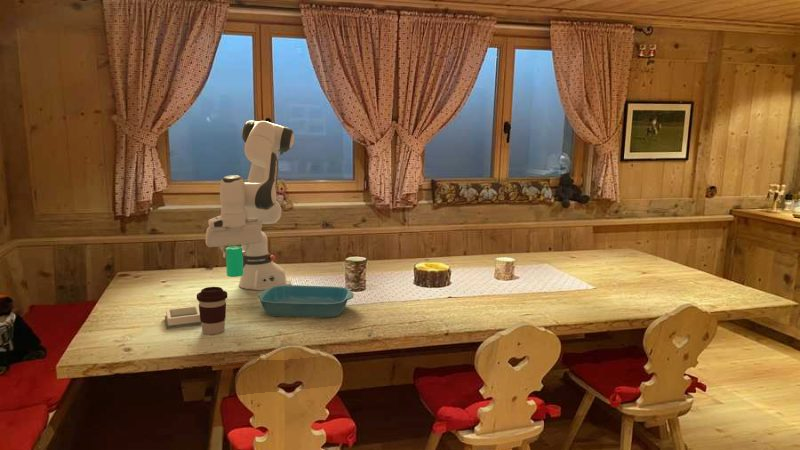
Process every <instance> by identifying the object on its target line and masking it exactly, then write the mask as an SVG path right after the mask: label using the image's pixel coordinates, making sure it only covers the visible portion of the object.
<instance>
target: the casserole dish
mask: <svg viewBox="0 0 800 450" xmlns="http://www.w3.org/2000/svg"><path fill="white" fill-rule="evenodd" d="M257 297H258V298H259V300H260V302H261V306H262V308H263V310H264V312H265V313H266V314H268V315H270V316H272V315H274V316H273V317H283V316H290V317H289V318H308V317H317V318H318V317H319V318H320V319H325V318H324V317H331V318H336V317H338V316H340V314H342V312H343V311H344V309H345V308H346V305H347V302H348V301H349V300H351V299H353V297H354V292H353V291H351V290H350V289H349V288H348V287H343V286H342V287H341V286H329V285H327V286H325V285H321V286H320V285H298V284H295V285H294V284H291V285H280V286H274V287H271V288H269V289H265V290H260V292H258V293H257ZM335 316H336V317H335ZM319 318H318V319H319Z"/></svg>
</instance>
